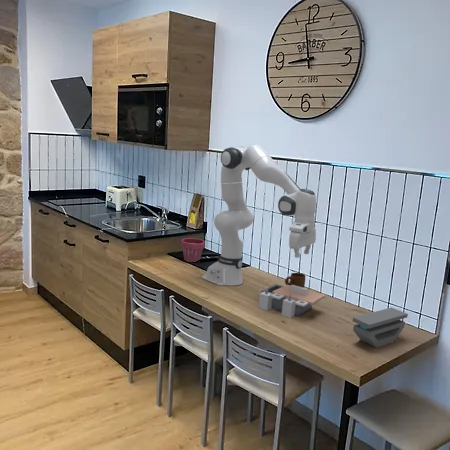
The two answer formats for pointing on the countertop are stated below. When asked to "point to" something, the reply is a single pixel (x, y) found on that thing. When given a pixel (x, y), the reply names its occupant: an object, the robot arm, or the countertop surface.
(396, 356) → the countertop surface
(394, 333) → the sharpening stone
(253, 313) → the countertop surface
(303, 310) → the cabinet
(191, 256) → the plant pot
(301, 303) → the door
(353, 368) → the countertop surface
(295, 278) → the mug
